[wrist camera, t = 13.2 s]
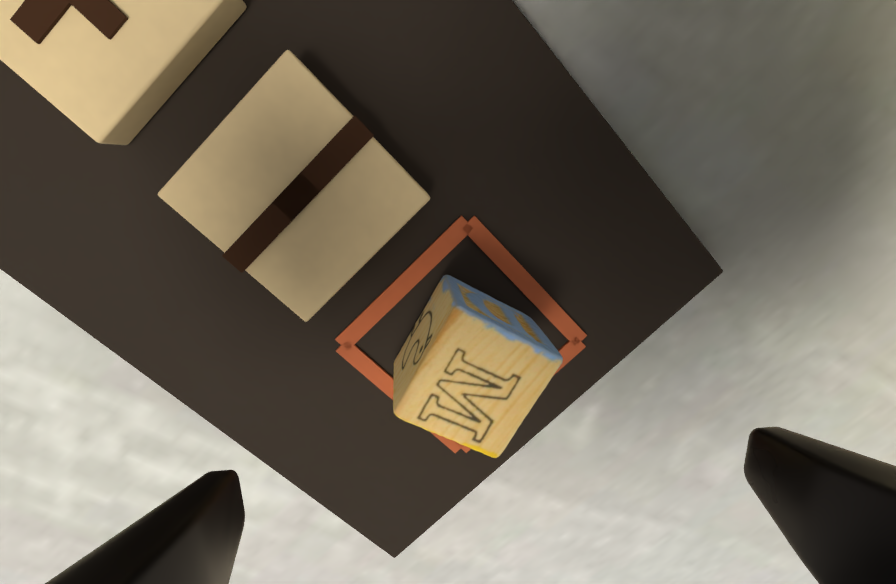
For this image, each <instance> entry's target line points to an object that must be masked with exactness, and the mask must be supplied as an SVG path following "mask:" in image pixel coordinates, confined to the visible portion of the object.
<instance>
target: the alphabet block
mask: <svg viewBox="0 0 896 584" xmlns="http://www.w3.org/2000/svg"><path fill="white" fill-rule="evenodd" d="M562 362H563V357H562V356H561V354H560V353H559V351H558V350H557V349H556V348H555V346H554V345H553V344H552V343H551V341H550V340H549V339H548V337H547V336H546V335H545V334H544V333H543V331H542V330H541V329H540V328H539V326H538V325H537V324H536V323H535V322H534V321H533V320H532V319H531V318H530V317H529V316H527V315H525V314H524V313H522V312H520V311H518V310H516V309H514V308H512V307H510V306H508V305H506V304H504V303H502V302H500V301H498V300H496V299H494V298H492V297H491V296H489V295H487V294H485V293H483V292H481V291H479V290H477V289H475V288H473V287H471V286H469V285H467V284H465V283H463V282H461V281H460V280H458V279H456V278H454V277H452V276H450V275H444V276H443V277H442V279H441V280H440V282H439V284H438V285H437V287H436V289H435V290H434V292H433V294H432V296H431V298H430V299H429V301H428V303H427V305H426V306H425V308H424V310H423V312H422V313H421V315H420V317H419V319H418V320H417V322H416V323H415V325H414V327H413V329H412V331H411V333H410V335H409V336H408V338H407V340H406V342H405V343H404V345H403V347H402V348H401V350H400V352H399V354H398V355H397V357H396V359H395V361H394V380H393V381H394V384H393V390H394V393H393V410H394V413H395V415H396V416H397V417H398V418H400V419H402V420H404V421H406V422H408V423H411V424H414V425H416V426H418V427H421V428H423V429H425V430H427V431H430V432H432V433H436V434H438V435H440V436H443V437H445V438H447V439H449V440H453V441H455V442H457V443H459V444H461V445H464V446H466V447H469V448H471V449H473V450H476V451H479V452H481V453H483V454H485V455H487V456H490V457H493V458H497V457H499V456H500V455H501V454H502V452H503V451H504V449H505V448H506V447H507V445H508V443H509V442H510V440H511V439H512V437H513V436H514V434H515V432H516V431H517V429H518V427H519V426H520V424H521V423H522V421H523V420H524V418H525V417H526V416H527V414H528V413H529V411H530V410H531V408H532V407H533V405H534V404H535V402H536V401H537V399H538V398H539V396H540V395H541V393H542V392H543V390H544V389H545V388H546V386H547V384H548V383H549V381H550V380H551V378H552V377H553V375H554V374H555V372H556V371H557V369H558V368H559V367H560V365H561V364H562Z"/></svg>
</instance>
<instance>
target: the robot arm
mask: <svg viewBox="0 0 896 584" xmlns="http://www.w3.org/2000/svg"><path fill="white" fill-rule="evenodd" d="M744 473H745V477H746V479H747V481H748V483H749V484H750V486H751V487H752V489H753V490H754V492H755V493H756V495H757V496H758V498H759V499H760V501H761V502H762V504H763V505H764V507H765V508H766V509H767V511H768V512H769V514H770V515H771V517H772V518H773V520H774V521H775V523H776V524H777V526H778V527H779V529H780V530H781V532H782V533H783V534H784V536H785V537H786V539H787V540H788V542H789V543H790V545H791V546H792V548H793V549H794V551H795V552H796V553H797V555H798V556H799V558H800V559H801V560H802V562H803V563H804V565H805V566H806V567H807V568H808V570H809V571H810V572H811V574H812V575H813V576H814V578H815V579H816V580H817V581H818V583H819V584H896V466H894V465H891V464H888V463H885V462H882V461H879V460H876V459H873V458H870V457H867V456H864V455H861V454H858V453H855V452H852V451H849V450H846V449H843V448H840V447H837V446H834V445H831V444H828V443H825V442H822V441H819V440H816V439H813V438H810V437H807V436H804V435H801V434H798V433H795V432H792V431H789V430H786V429H783V428H780V427H765V428H756V429H754V430H753V431H752V432H751V433H750V436H749V441H748V446H747V452H746V458H745V464H744ZM244 521H245V511H244V505H243V499H242V494H241V488H240V482H239V477H238V475H237V473H236V472H235V471H234V470H224V471H211V472H208V473H206V474H205V475H203V476H202V477H200V478H199V479H198V480H196V481H195V482H193V483H192V484H190V485H189V486H187V487H186V488H184V489H183V490H181V491H180V492H179V493H177V494H176V495H174V496H173V497H171V498H170V499H168V500H167V501H165V502H164V503H162V504H161V505H160V506H158V507H157V508H155V509H154V510H152V511H151V512H149V513H148V514H146V515H145V516H143V517H142V518H140V519H139V520H138V521H136V522H135V523H133V524H132V525H130V526H129V527H127V528H126V529H124V530H123V531H121V532H120V533H119V534H117V535H116V536H114V537H113V538H111V539H110V540H108V541H107V542H105V543H104V544H102V545H101V546H100V547H98V548H97V549H95V550H94V551H92V552H91V553H89V554H88V555H86V556H85V557H83V558H82V559H80V560H79V561H78V562H76V563H75V564H73V565H72V566H70V567H69V568H67V569H66V570H64V571H63V572H61V573H60V574H59V575H57V576H56V577H54V578H53V579H51V580H50V581H48V582H47V583H45V584H229V580H230V576H231V572H232V569H233V565H234V561H235V557H236V554H237V550H238V546H239V542H240V539H241V535H242V531H243V527H244Z"/></svg>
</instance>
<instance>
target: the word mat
mask: <svg viewBox="0 0 896 584" xmlns="http://www.w3.org/2000/svg"><path fill="white" fill-rule="evenodd" d="M0 269H1V270H3V271H4V272H5V273H7V274H8V275H10V276H11V277H12V278H14V279H15V280H16V281H18V282H19V283H20V284H22V285H23V286H25V287H26V288H27V289H29V290H30V291H31V292H33V293H34V294H35V295H37V296H38V297H40V298H41V299H42V300H44V301H45V302H46V303H48V304H49V305H50V306H52V307H53V308H55V309H56V310H57V311H59V312H60V313H61V314H63V315H64V316H65V317H67V318H68V319H69V320H71V321H72V322H74V323H75V324H76V325H78V326H79V327H80V328H82V329H83V330H84V331H86V332H87V333H89V334H90V335H91V336H93V337H94V338H95V339H97V340H98V341H99V342H101V343H102V344H104V345H105V346H106V347H108V348H109V349H110V350H112V351H113V352H114V353H116V354H117V355H119V356H120V357H121V358H123V359H124V360H125V361H127V362H128V363H129V364H131V365H132V366H134V367H135V368H136V369H138V370H139V371H140V372H142V373H143V374H144V375H146V376H147V377H149V378H150V379H151V380H153V381H154V382H155V383H157V384H158V385H159V386H161V387H162V388H164V389H165V390H166V391H168V392H169V393H170V394H172V395H173V396H174V397H176V398H177V399H178V400H180V401H181V402H183V403H184V404H185V405H187V406H188V407H189V408H191V409H192V410H193V411H195V412H196V413H198V414H199V415H200V416H202V417H203V418H204V419H206V420H207V421H208V422H210V423H211V424H213V425H214V426H215V427H217V428H218V429H219V430H221V431H222V432H223V433H225V434H226V435H228V436H229V437H230V438H232V439H233V440H234V441H236V442H237V443H238V444H240V445H241V446H243V447H244V448H245V449H247V450H248V451H249V452H251V453H252V454H253V455H255V456H256V457H258V458H259V459H260V460H262V461H263V462H264V463H266V464H267V465H268V466H270V467H271V468H273V469H274V470H275V471H277V472H278V473H279V474H281V475H282V476H283V477H285V478H286V479H287V480H289V481H290V482H292V483H293V484H294V485H296V486H297V487H298V488H300V489H301V490H302V491H304V492H305V493H307V494H308V495H309V496H311V497H312V498H313V499H315V500H316V501H317V502H319V503H320V504H322V505H323V506H324V507H326V508H327V509H328V510H330V511H331V512H332V513H334V514H335V515H337V516H338V517H339V518H341V519H342V520H343V521H345V522H346V523H347V524H349V525H350V526H352V527H353V528H354V529H356V530H357V531H358V532H360V533H361V534H362V535H364V536H365V537H367V538H368V539H369V540H371V541H372V542H373V543H375V544H376V545H377V546H379V547H380V548H382V549H383V550H384V551H386V552H387V553H388V554H390V555H391V556H392V557H394V558H395V557H396V556H397V555H399V554H400V553H401V552H402V551H403V550H404V549H405V548H407V547H408V546H409V545H410V544H411V543H412V542H413V541H415V540H416V539H417V538H418V537H419V536H420V535H422V534H423V533H424V532H425V531H426V530H427V529H428V528H430V527H431V526H432V525H433V524H434V523H435V522H436V521H438V520H439V519H440V518H441V517H442V516H443V515H444V514H446V513H447V512H448V511H449V510H450V509H451V508H453V507H454V506H455V505H456V504H457V503H458V502H459V501H461V500H462V499H463V498H464V497H465V496H466V495H467V494H469V493H470V492H471V491H472V490H473V489H474V488H475V487H477V486H478V485H479V484H480V483H481V482H482V481H483V480H485V479H486V478H487V477H488V476H489V475H490V474H492V473H493V472H494V471H495V470H496V469H497V468H498V467H500V466H501V465H502V464H503V463H504V462H505V461H506V460H508V459H509V458H510V457H511V456H512V455H513V454H514V453H516V452H517V451H518V450H519V449H520V448H521V447H522V446H524V445H525V444H526V443H527V442H528V441H529V440H531V439H532V438H533V437H534V436H535V435H536V434H537V433H539V432H540V431H541V430H542V429H543V428H544V427H545V426H547V425H548V424H549V423H550V422H551V421H552V420H553V419H555V418H556V417H557V416H558V415H559V414H560V413H561V412H563V411H564V410H565V409H566V408H567V407H568V406H570V405H571V404H572V403H573V402H574V401H575V400H576V399H578V398H579V397H580V396H581V395H582V394H583V393H584V392H586V391H587V390H588V389H589V388H590V387H591V386H592V385H594V384H595V383H596V382H597V381H598V380H599V379H600V378H602V377H603V376H604V375H605V374H606V373H607V372H609V371H610V370H611V369H612V368H613V367H614V366H615V365H617V364H618V363H619V362H620V361H621V360H622V359H623V358H625V357H626V356H627V355H628V354H629V353H630V352H631V351H633V350H634V349H635V348H636V347H637V346H638V345H639V344H641V343H642V342H643V341H644V340H645V339H646V338H648V337H649V336H650V335H651V334H652V333H653V332H654V331H656V330H657V329H658V328H659V327H660V326H661V325H662V324H664V323H665V322H666V321H667V320H668V319H669V318H670V317H672V316H673V315H674V314H675V313H676V312H677V311H678V310H680V309H681V308H682V307H683V306H684V305H685V304H687V303H688V302H689V301H690V300H691V299H692V298H693V297H695V296H696V295H697V294H698V293H699V292H700V291H701V290H703V289H704V288H705V287H706V286H707V285H708V284H709V283H711V282H712V281H713V280H714V279H715V278H716V277H717V276H719V275H720V274H721V273H722V272H723V270H722V269H721V267H720V266H719V265H718V264H717V262H716V261H715V260H714V258H713V257H712V256H711V255H710V253H709V252H708V251H707V250H706V248H705V247H704V246H703V244H702V243H701V242H700V241H699V239H698V238H697V237H696V235H695V234H694V233H693V232H692V230H691V229H690V228H689V226H688V225H687V224H686V223H685V221H684V220H683V219H682V217H681V216H680V215H679V214H678V212H677V211H676V210H675V209H674V207H673V206H672V205H671V203H670V202H669V201H668V200H667V198H666V197H665V196H664V194H663V193H662V192H661V191H660V189H659V188H658V187H657V185H656V184H655V183H654V182H653V180H652V179H651V178H650V176H649V175H648V174H647V173H646V171H645V170H644V169H643V167H642V166H641V165H640V164H639V162H638V161H637V160H636V159H635V157H634V156H633V155H632V153H631V152H630V151H629V150H628V148H627V147H626V146H625V144H624V143H623V142H622V141H621V139H620V138H619V137H618V135H617V134H616V133H615V132H614V130H613V129H612V128H611V126H610V125H609V124H608V123H607V121H606V120H605V119H604V118H603V116H602V115H601V114H600V112H599V111H598V110H597V109H596V107H595V106H594V105H593V103H592V102H591V101H590V100H589V98H588V97H587V96H586V94H585V93H584V92H583V91H582V89H581V88H580V87H579V85H578V84H577V83H576V82H575V80H574V79H573V78H572V76H571V75H570V74H569V73H568V71H567V70H566V69H565V68H564V66H563V65H562V64H561V62H560V61H559V60H558V59H557V57H556V56H555V55H554V53H553V52H552V51H551V50H550V48H549V47H548V46H547V44H546V43H545V42H544V41H543V39H542V38H541V37H540V35H539V34H538V33H537V32H536V30H535V29H534V28H533V26H532V25H531V24H530V23H529V21H528V20H527V19H526V18H525V16H524V15H523V14H522V12H521V11H520V10H519V9H518V7H517V6H516V5H515V3H514V2H513V1H512V0H0ZM444 275H450V276H452V277H454V278H456V279H458V280H460V281H461V282H463V283H465V284H467V285H469V286H471V287H473V288H475V289H477V290H479V291H481V292H483V293H485V294H487V295H489V296H491V297H492V298H494V299H496V300H498V301H500V302H502V303H504V304H506V305H508V306H510V307H512V308H514V309H516V310H518V311H520V312H522V313H524V314H525V315H527V316H529V317H530V318H531V319H532V320H533V321H534V322H535V323H536V324H537V325H538V326H539V328H540V329H541V330H542V331H543V333H544V334H545V335H546V336H547V337H548V339H549V340H550V341H551V343H552V344H553V345H554V346H555V348H556V349H557V350H558V351H559V353H560V354H561V356H562V357H563V362H562V364H561V365H560V367H559V368H558V369H557V371H556V372H555V374H554V375H553V377H552V378H551V380H550V381H549V383H548V384H547V386H546V388H545V389H544V390H543V392H542V393H541V395H540V396H539V398H538V399H537V401H536V402H535V404H534V405H533V407H532V408H531V410H530V411H529V413H528V414H527V416H526V417H525V418H524V420H523V421H522V423H521V424H520V426H519V427H518V429H517V431H516V432H515V434H514V436H513V437H512V439H511V440H510V442H509V443H508V445H507V447H506V448H505V449H504V451H503V452H502V454H501V455H500V456H499V457H497V458H493V457H490V456H487V455H485V454H483V453H481V452H479V451H476V450H473V449H471V448H469V447H466V446H464V445H461V444H459V443H457V442H455V441H453V440H449V439H447V438H445V437H443V436H440V435H438V434H436V433H432V432H430V431H427V430H425V429H423V428H421V427H418V426H416V425H414V424H411V423H408V422H406V421H404V420H402V419H400V418H398V417H397V416H396V415H395V413H394V410H393V393H394V390H393V384H394V381H393V380H394V361H395V359H396V357H397V355H398V354H399V352H400V350H401V348H402V347H403V345H404V343H405V342H406V340H407V338H408V336H409V335H410V333H411V331H412V329H413V327H414V325H415V323H416V322H417V320H418V319H419V317H420V315H421V313H422V312H423V310H424V308H425V306H426V305H427V303H428V301H429V299H430V298H431V296H432V294H433V292H434V290H435V289H436V287H437V285H438V284H439V282H440V280H441V279H442V277H443V276H444Z"/></svg>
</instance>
